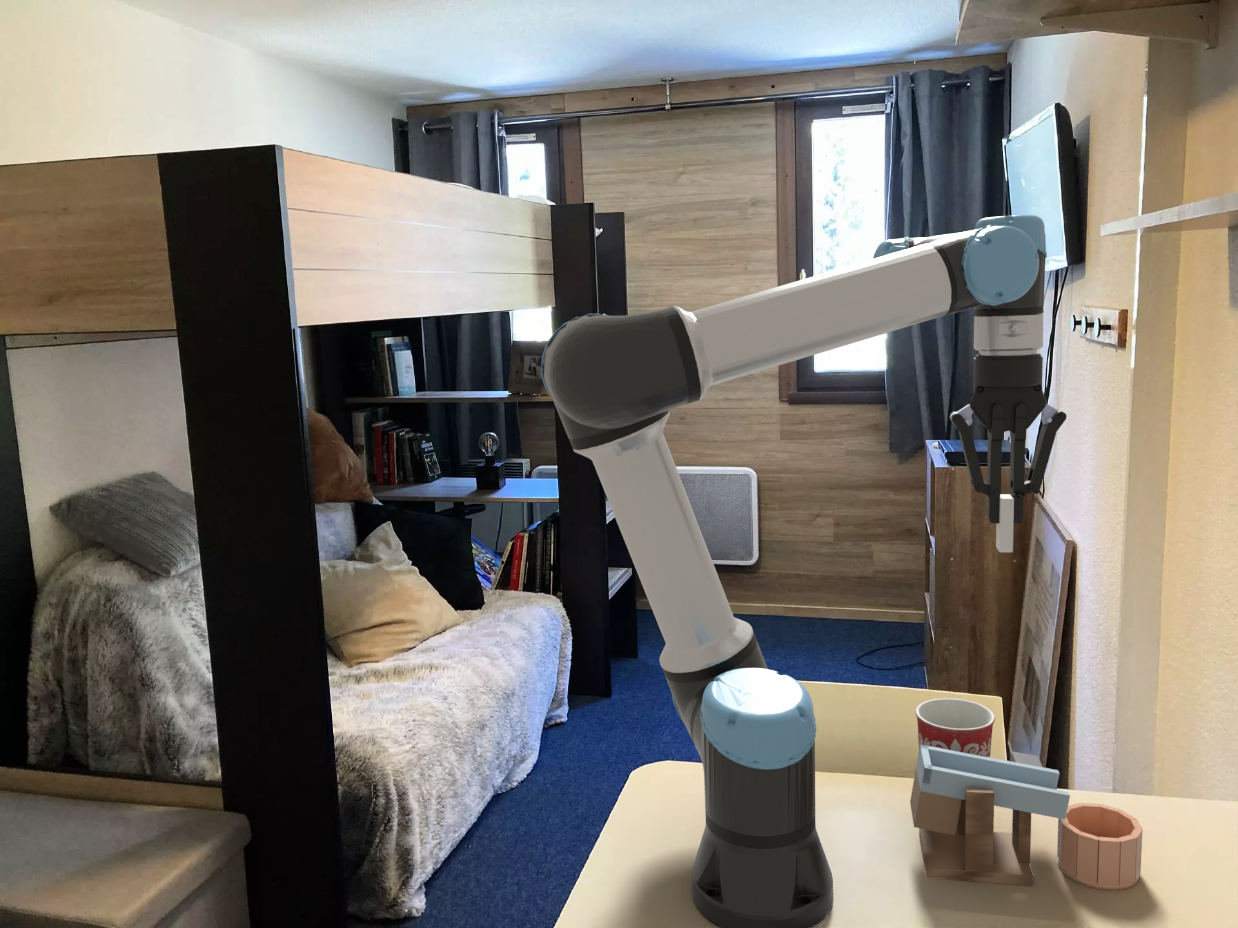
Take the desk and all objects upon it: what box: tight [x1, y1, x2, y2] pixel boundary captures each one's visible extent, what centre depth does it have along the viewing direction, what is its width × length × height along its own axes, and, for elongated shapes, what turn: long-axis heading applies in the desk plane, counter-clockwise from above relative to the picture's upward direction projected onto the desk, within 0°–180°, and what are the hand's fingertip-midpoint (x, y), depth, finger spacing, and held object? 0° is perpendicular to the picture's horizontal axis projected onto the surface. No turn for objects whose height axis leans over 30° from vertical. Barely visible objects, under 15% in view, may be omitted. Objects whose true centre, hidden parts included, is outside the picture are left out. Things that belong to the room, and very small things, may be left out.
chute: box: [909, 745, 1071, 835], centre depth 113 cm, size 15×13×7 cm
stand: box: [918, 788, 1034, 887], centre depth 111 cm, size 11×9×10 cm
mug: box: [914, 698, 996, 758], centre depth 121 cm, size 13×9×14 cm
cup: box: [1056, 802, 1143, 891], centre depth 108 cm, size 8×8×6 cm
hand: (1004, 549), depth 119 cm, fingers closed
